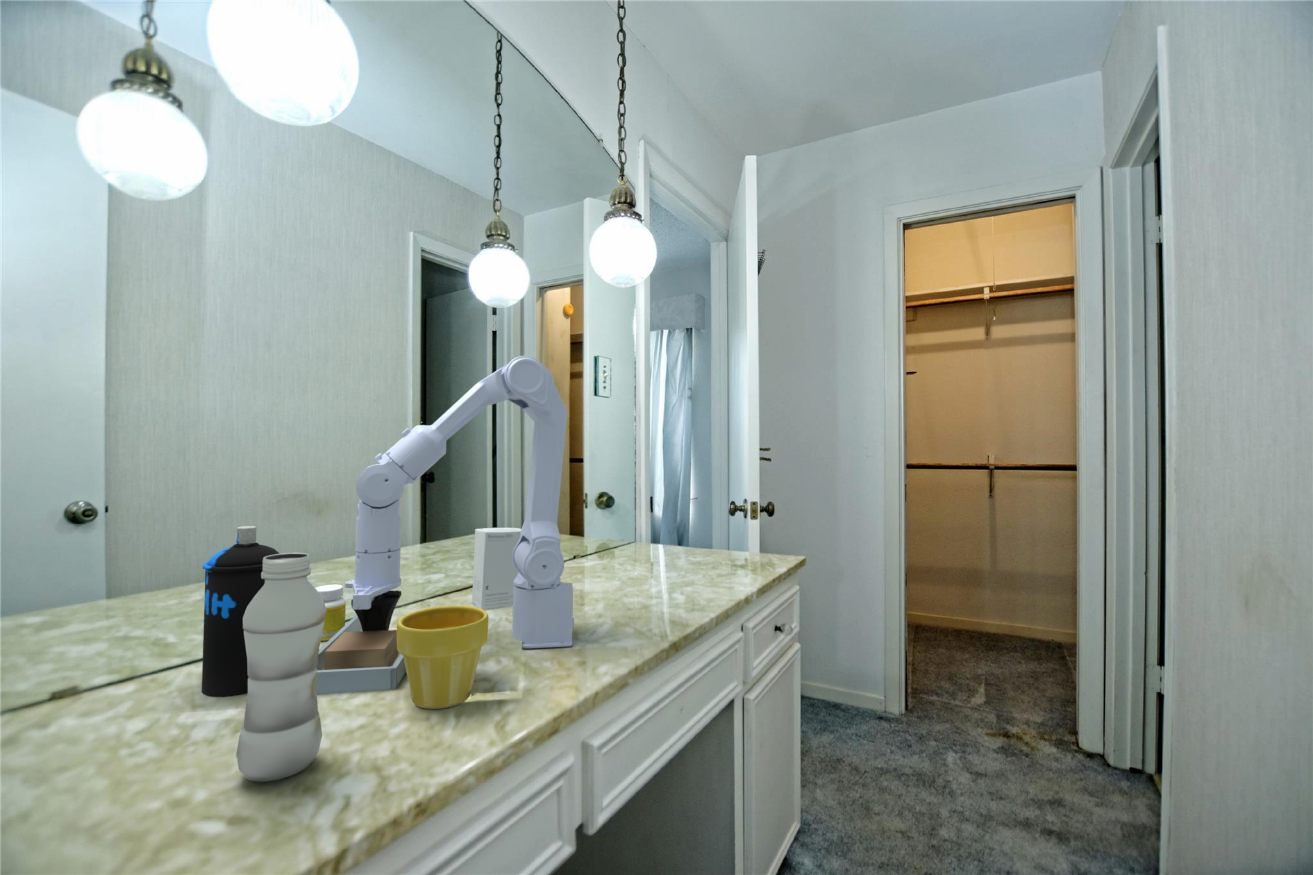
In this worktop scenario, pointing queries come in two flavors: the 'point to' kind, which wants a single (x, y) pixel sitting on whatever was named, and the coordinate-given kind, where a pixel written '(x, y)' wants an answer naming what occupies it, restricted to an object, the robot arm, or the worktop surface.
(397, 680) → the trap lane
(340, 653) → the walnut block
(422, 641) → the plant pot
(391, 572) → the robot arm
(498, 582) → the skincare box
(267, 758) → the plastic bottle
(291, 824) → the worktop surface
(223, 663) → the aerosol can
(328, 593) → the supplement bottle
